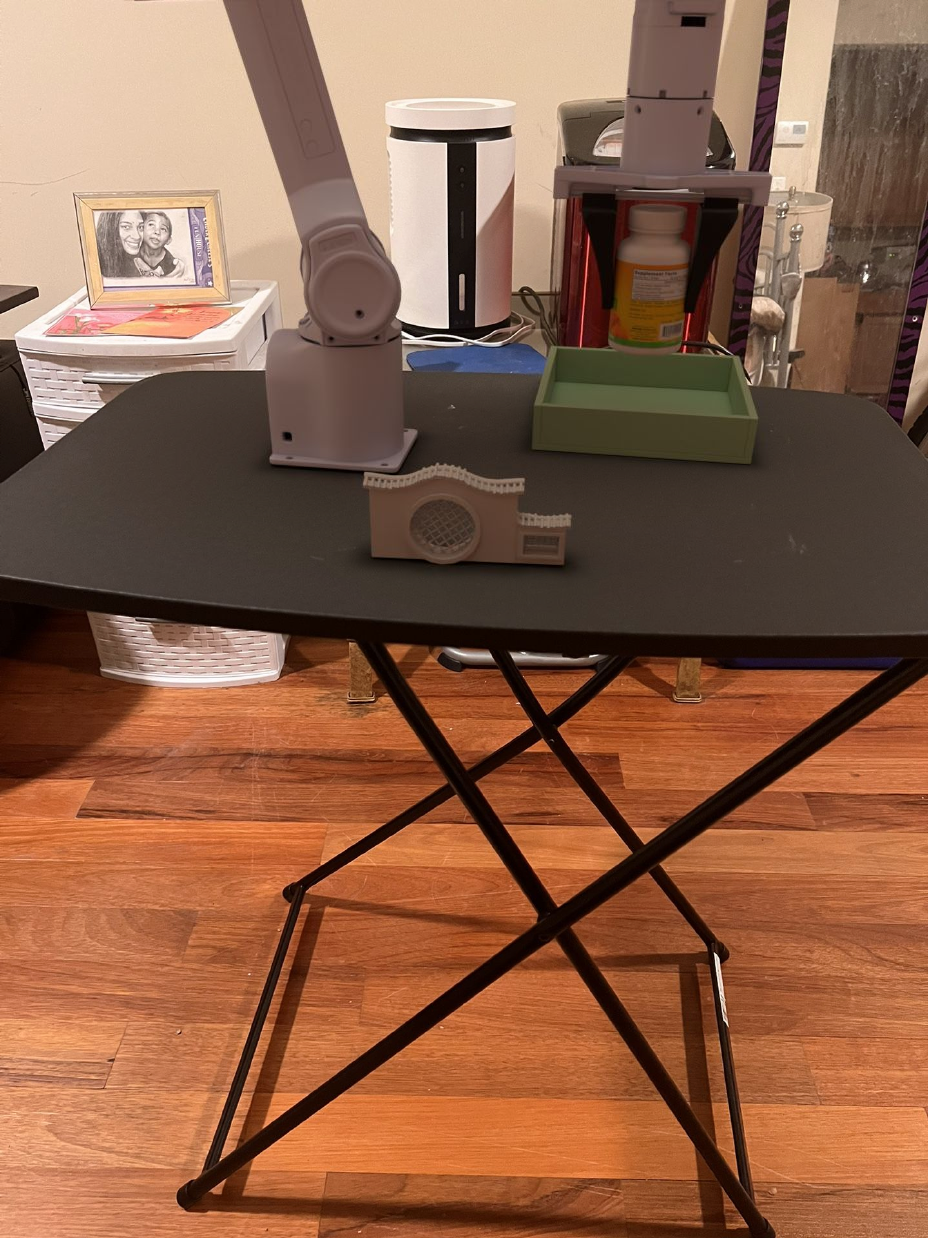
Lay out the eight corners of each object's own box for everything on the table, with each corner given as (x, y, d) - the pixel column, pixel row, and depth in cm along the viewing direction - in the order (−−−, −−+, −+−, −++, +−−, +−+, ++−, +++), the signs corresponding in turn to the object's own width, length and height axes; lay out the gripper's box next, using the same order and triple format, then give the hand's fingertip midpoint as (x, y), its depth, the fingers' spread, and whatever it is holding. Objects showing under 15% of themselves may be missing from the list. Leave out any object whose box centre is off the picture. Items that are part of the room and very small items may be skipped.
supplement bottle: (610, 336, 75) (621, 200, 70) (681, 340, 74) (697, 203, 69) (604, 355, 71) (616, 211, 66) (680, 359, 70) (697, 214, 65)
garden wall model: (567, 556, 59) (574, 464, 56) (568, 570, 57) (575, 476, 54) (370, 548, 59) (366, 456, 56) (365, 561, 58) (361, 468, 55)
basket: (531, 449, 74) (533, 404, 72) (548, 384, 87) (551, 345, 85) (750, 464, 72) (758, 418, 70) (733, 395, 85) (739, 355, 83)
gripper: (554, 97, 61) (543, 316, 68) (790, 103, 60) (754, 327, 67) (562, 92, 67) (551, 293, 74) (777, 96, 66) (745, 303, 73)
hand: (647, 308), depth 71 cm, fingers closed on supplement bottle, 5 cm apart
